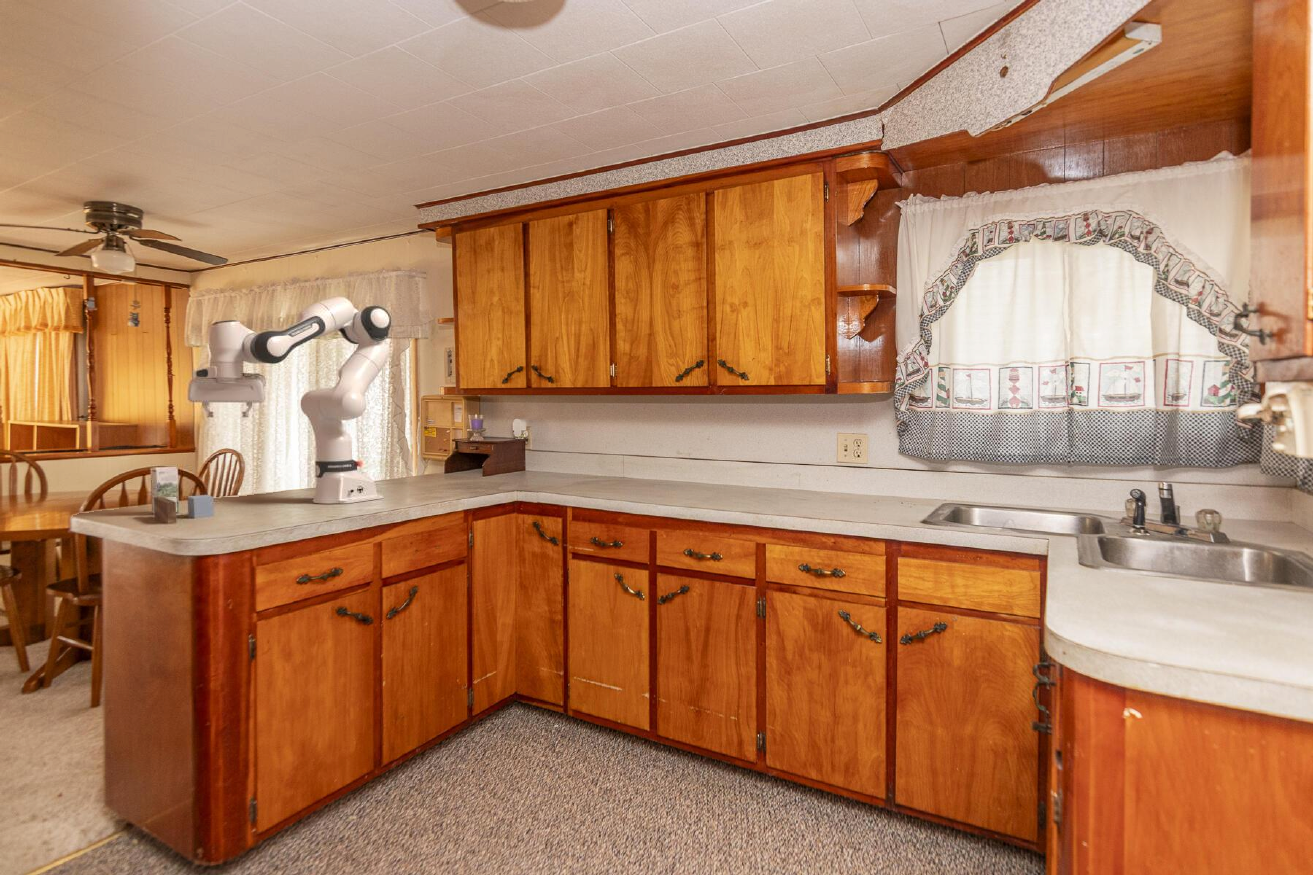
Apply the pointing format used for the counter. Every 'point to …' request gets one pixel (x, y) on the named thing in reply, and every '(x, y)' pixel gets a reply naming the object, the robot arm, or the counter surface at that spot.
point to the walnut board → (165, 509)
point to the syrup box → (165, 484)
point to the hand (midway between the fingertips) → (227, 417)
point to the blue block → (200, 506)
